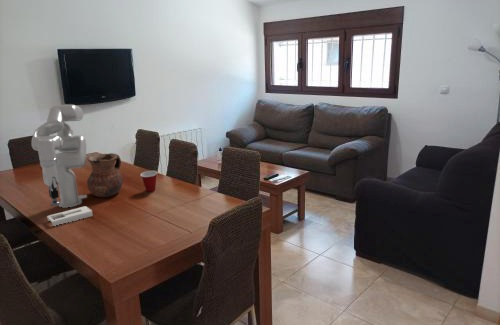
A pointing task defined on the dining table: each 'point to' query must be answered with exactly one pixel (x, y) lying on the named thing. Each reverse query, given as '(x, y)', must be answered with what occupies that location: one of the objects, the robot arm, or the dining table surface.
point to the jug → (104, 175)
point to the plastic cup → (149, 180)
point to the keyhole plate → (70, 215)
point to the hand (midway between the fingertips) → (54, 196)
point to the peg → (54, 199)
